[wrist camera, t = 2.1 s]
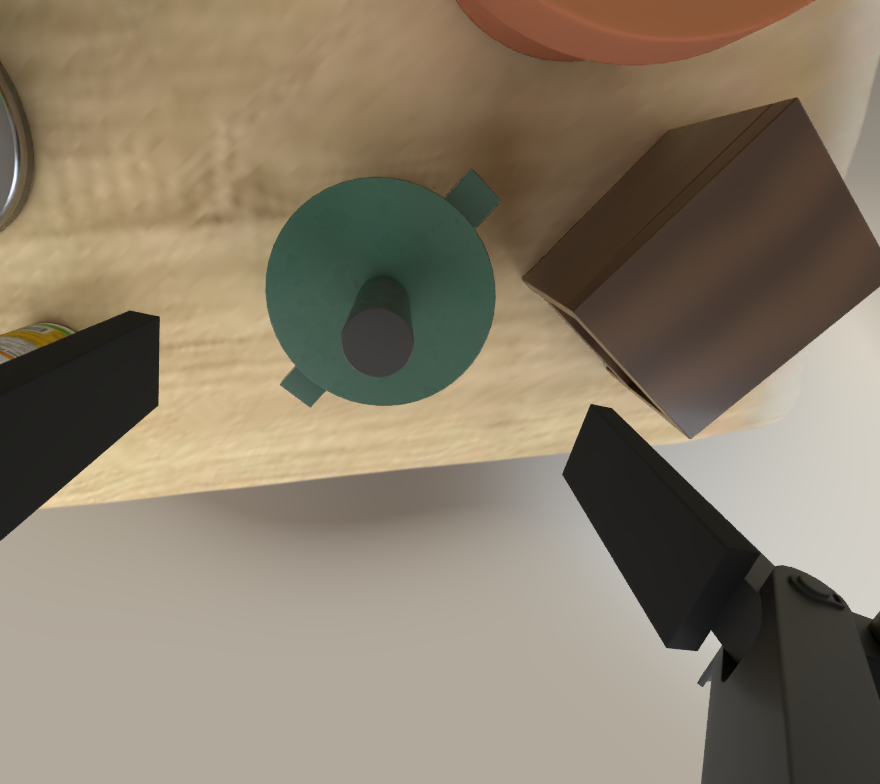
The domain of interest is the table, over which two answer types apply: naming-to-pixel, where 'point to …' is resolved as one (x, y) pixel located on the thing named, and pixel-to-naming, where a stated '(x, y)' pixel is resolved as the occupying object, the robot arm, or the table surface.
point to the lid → (380, 291)
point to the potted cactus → (623, 26)
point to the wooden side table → (713, 261)
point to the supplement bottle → (30, 339)
